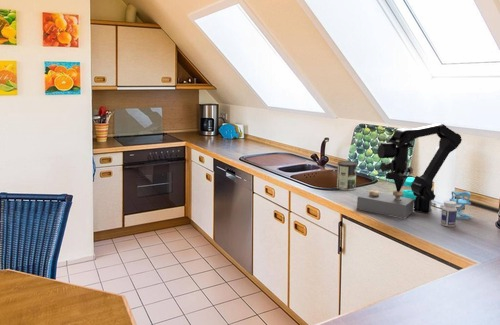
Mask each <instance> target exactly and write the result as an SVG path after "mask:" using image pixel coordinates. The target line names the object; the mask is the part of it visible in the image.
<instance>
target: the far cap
mask: <svg viewBox="0 0 500 325" xmlns="http://www.w3.org/2000/svg"><path fill="white" fill-rule="evenodd" d="M368 191H369V195H370V196H373V197H378V196H379V193H380V191H379V190H376V189H375V190H374V189H373V190H372V189H371V190H368Z"/></svg>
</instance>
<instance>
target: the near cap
mask: <svg viewBox="0 0 500 325" xmlns="http://www.w3.org/2000/svg"><path fill="white" fill-rule="evenodd" d="M392 195H393V196H395V201H400V197H401V196H403V190H402V189H401V190H400V191H399V192H398V191H397V190H396V189H394V190H392Z"/></svg>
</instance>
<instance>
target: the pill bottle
mask: <svg viewBox="0 0 500 325" xmlns="http://www.w3.org/2000/svg"><path fill="white" fill-rule="evenodd" d="M457 211H458V209H457V205H456V202H454V201H450V200H444V201H443V206H442V208H441V217H440V224H441V226H444V227H448V228H449V227H450V228H451V227H455V226H456V223H457V219H456V217H458V216H457V215H458V214H457Z"/></svg>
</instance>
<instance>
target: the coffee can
mask: <svg viewBox="0 0 500 325" xmlns="http://www.w3.org/2000/svg"><path fill="white" fill-rule="evenodd" d="M357 166H358V163H357V162H355V161H351V160H350V161H348V160H340V161H338V162H337V174H336V175H337V176H336V178H337V179H336V180H337V181H336V189H338V188H339V189H338V190H341V191H342V190H343V191H353V190H356V189H357V188H356V184H357V168H358V167H357Z"/></svg>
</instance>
